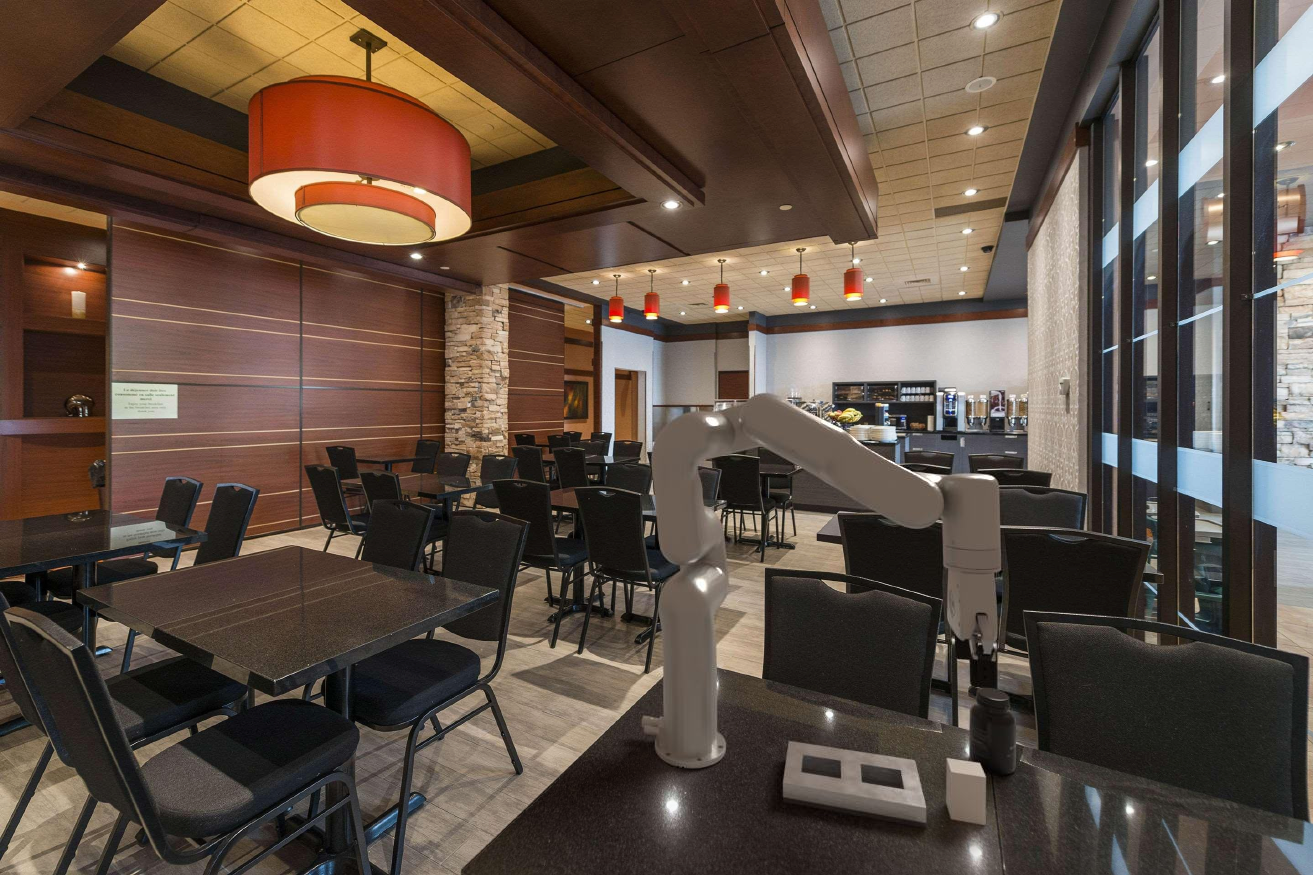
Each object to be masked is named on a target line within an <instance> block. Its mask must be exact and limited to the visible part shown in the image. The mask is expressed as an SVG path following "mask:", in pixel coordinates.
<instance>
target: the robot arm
mask: <svg viewBox="0 0 1313 875" xmlns="http://www.w3.org/2000/svg"><path fill="white" fill-rule="evenodd" d="M759 447H763V448H765V449H766V450H768V451H770V452H772V453H774V454H776V455H778V456H779V457H781V458H783V459H785V460H787V461H789V462H791V463H792V464H795V465H796V466H798V467H799V468H801V469H803V470H805V471H807V472H809V473H810V474H812V475H814V476H815V477H817V478H818V479H820V480H821V481H822V482H824V483H826V484H828V485H829V486H831V487H833V488H835V489H837V490H838V491H840V492H842V493H844V494H845V495H846V496H848V497H849V498H851V499H853V500H855V501H856V502H858V503H859V504H861V505H863V506H864V507H867V508H868V509H870V510H872V511H874V512H876V513H877V514H879V515H881V516H883V517H884V518H886V519H888V520H890V521H892V522H894V523H896V524H898V525H900V526H902V527H905V528H909V529H917V530H918V529H924V528H929V527H930V526H932V525H933V524H935V523H936V522H937V521H938V520H939V519H941V522H942V524H941V525H942V554H943V555H942V556H943V558H942V560H943V561H942V562H943V567H944V568H946V569H948V570H947V571H948V572H947V573H948V574H947V597H946V598H947V603H946V604H947V606H946V607H947V608H946V611H947V613H946V614H947V615H946V618H947V622H948V624H949V625H950V627H951V630H952V631H953V632H954V655H955V656H954V657H955V658H956V659H957V660H964V661H968V662H969V664H968V665H969V683H970V686H971V687H973V688H991V689H997V660H996V651H995V649H996V648H995V647H994V643H995V642H996V640H997V639H998V609H997V608H998V606H997V594H996V592H997V591H996V590H997V589H996V588H997V586H996V579H995V573H999V572H1000V571H1002V554H1001V553H1002V549H1001V547H1002V546H1001V511H1000V486H999V482H998V480H997V479H996V477H994V476H993V475H990V474H985V473H984V474H983V473H953V474H949V475H948V474H938V473H936V474H935V473H926V472H921V471H920V472H919V471H911V470H910V469H907V468H905V467H903V466H901V465H899V464H897V463H895V462H893V461H892V460H889V459H887V458H885V457H884V456H882V455H880V454H878V453H876V452H875V451H873V450H872V449H869V448H868V447H866V446H865V445H864V444H862V443H861V442H859V440H857V439H856V438H855V437H854V436H852V435H851V434H850V433H849V432H847V431H846V430H843V429H842V428H840V427H839V426H837V425H834V424H832V423H830V422H828V421H827V420H825V419H822V418H821V417H818V416H817V415H814V414H813V413H810V412H809V411H807V410H805V409H804V408H801V407H799V406H797V405H795V404H793V403H792V402H790V401H789V400H788V399H786V398H785V397H783V396H781V395H778V394H773V393H768V392H761V393H757V394H754V395H753V396H751V397H749V398H748V399H747V400H746V401H745V402H744V403H742V404H738V405H734V406H731V407H728V408H723V409H720V410H715V411H707V410H706V411H705V410H696V411H689V412H686V413H683V414H681V415H679V416H677V417H675V418H674V419H672V420H670V421H669V422H668V423H667V424H666V425H665V426H664V427H662V429H661V430H660V431H659V433H658V435H657V436H656V438H655V440H654V443H653V445H652V450H651V471H652V480H653V487H654V503H655V512H656V514H655V515H656V523H657V524H656V525H657V533H658V543H659V549H660V551H661V553H662V555H663V557H664V558H665V559H666V560H667V561H668V562H670V563H671V564H674V565H676V566H679V570H680V571H678V572H677V573H675V574H674V575H673V576H672V577H671V578H669V580H667V582H665V584H664V586H663V587H662V590H661V592H660V595H659V599H658V615H659V620H660V628H661V638H662V663H663V664H662V666H663V667H662V679H663V680H662V681H663V682H662V683H663V686H662V687H663V690H662V692H663V698H662V699H663V702H662V703H663V706H662V707H663V716H659V718H658V717H653V716H647V715H643V716H642V719H641V727H642V728H644V729H643V733H644V734H645V735H654V736H655V741H654V750H655V753H656V754H657V756H658V757H659V758H660V759H661V760H662V761H664V762H665V763H667V764H669V765H671V766H674V767H677V766H679V767H678V768H682V767H684V768H683V769H702V768H707V767H710V766H712V765H715V764H716V763H718V762H719V761H721V760H722V759H723V757H725V754H726V752H727V743H726V742H727V741H726V739H725V737H724V736H723V735H722V734H721V733H720V732H718V661H717V660H718V659H717V657H718V655H717V653H718V652H717V639H716V633H715V626H714V616H715V613H716V612H717V611H718V609H719V608H720V607H721V606H722V605H723V604H724V602H725V600H726V598H727V597H728V593H729V588H730V584H729V583H730V578H729V577H730V576H729V569H728V568H729V566H728V560H727V559H728V558H727V549H726V539H725V533H724V532H725V531H724V527H723V524H722V522H721V520H720V517H719V515H718V514H716V512H715V511H714V510H713V509H712V508H710V507H708V506H707V505H704V498H703V497H704V496H703V485H702V480H701V476H700V474H699V464H700V463H701V462H702V461H704V460H709V459H714V458H719V457H722V456H727V455H731V454H735V453H738V452H744V451H747V450H751V449H755V448H759Z"/></svg>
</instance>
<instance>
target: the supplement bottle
mask: <svg viewBox="0 0 1313 875" xmlns="http://www.w3.org/2000/svg"><path fill="white" fill-rule="evenodd" d="M1010 708H1011V704H1010V696H1009V695H1008V694H1007V693H1005V692H1004V691H1002V690H999V689H997V688H982V687H979V688H978V689H977V690H976V696H975V704H972V706H970V708H969V727H968V728H969V730H968V731H969V734H968V736H969V740H968V742H969V743H968V750H969V751H968V753H969V754H968V755H969V759H970V762H976V763H980V764H981V767H982V769H983V771H985V772H988V773H990V774H995V775H1002V776H1003V775H1009V774H1012V773H1014V771H1015V769H1016V764H1017V763H1016V759H1017V720H1016V717H1015V715H1014V714H1013V713H1012V712H1011V711H1010Z"/></svg>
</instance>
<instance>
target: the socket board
mask: <svg viewBox="0 0 1313 875" xmlns="http://www.w3.org/2000/svg"><path fill="white" fill-rule="evenodd" d="M787 745H788V746H787V752H786V758H785V766H784V771H783V772H784V774H783V780H782V803H786V804H792V805H797V806H802V807H803V806H804V807H807V808H814V809H819V810H824V811H829V812H834V813H835V812H836V813H841V814H847V815H852V816H856V817H857V816H858V817H862V818H867V819H873V820H878V821H885V822H890V823H894V824H895V823H896V824H900V825H906V826H911V827H916V828H922V829H927V804H926V800H925V797H924V796H925V795H924V793H923V788H922V784H921V780H920V775H919V772H918V767H917V763H916V759H909V758H903V757H898V756H897V757H896V756H889V755H884V754H877V753H870V752H864V751H857V750H851V749H850V750H849V749H843V748H837V747H831V746H824V745H819V744H812V743H805V742H798V741H791V740H788V744H787Z"/></svg>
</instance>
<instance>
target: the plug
mask: <svg viewBox="0 0 1313 875" xmlns="http://www.w3.org/2000/svg"><path fill="white" fill-rule="evenodd" d="M945 788H946V790H945V792H946V794H945V795H946V797H945V799H946V802H945V803H946V807H947V810H948V813H949V818H950V820H955V821H960V822H961V821H962V822H965V823H971V824H976V825H982V826H986V822H987V821H986V820H987V817H986V816H987V814H986V813H987V776H986V774H985V772H984V770H983V769H982V767H981V764H980V763H976V762H972V761H971V760H969V761H968V760H963V759H962V760H961V759H955V758H954V759H953V758H951V757H950V758H949V757H948V758H947V757H946V785H945Z"/></svg>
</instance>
